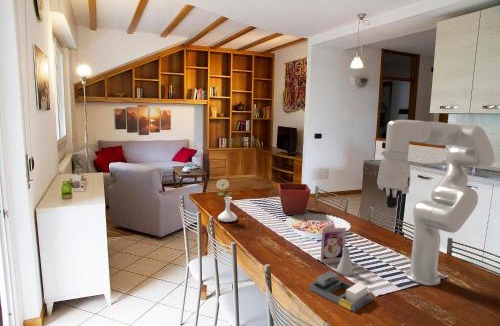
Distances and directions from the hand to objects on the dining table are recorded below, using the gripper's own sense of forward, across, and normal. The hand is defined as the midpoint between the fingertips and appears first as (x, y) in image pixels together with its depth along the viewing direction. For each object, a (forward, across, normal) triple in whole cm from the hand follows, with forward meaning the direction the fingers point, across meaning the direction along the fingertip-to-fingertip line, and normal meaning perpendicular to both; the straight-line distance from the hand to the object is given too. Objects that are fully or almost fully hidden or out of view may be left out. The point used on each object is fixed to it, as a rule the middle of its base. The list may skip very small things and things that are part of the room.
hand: (391, 207), depth 124 cm
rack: (+32, -9, -15) cm, 37 cm away
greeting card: (+32, -30, +8) cm, 45 cm away
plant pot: (+32, -89, +51) cm, 108 cm away
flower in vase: (+32, -101, +5) cm, 106 cm away
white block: (+32, -3, -14) cm, 35 cm away
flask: (+32, -18, +2) cm, 37 cm away
